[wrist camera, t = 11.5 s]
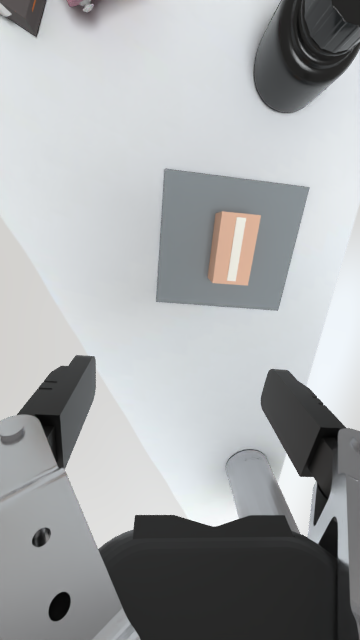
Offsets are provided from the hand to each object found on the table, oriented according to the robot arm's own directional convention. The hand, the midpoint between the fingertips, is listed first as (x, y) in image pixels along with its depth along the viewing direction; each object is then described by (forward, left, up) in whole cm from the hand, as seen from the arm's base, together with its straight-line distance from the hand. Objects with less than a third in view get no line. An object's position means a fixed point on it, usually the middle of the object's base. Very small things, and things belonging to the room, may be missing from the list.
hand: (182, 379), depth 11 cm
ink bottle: (+26, -12, -27) cm, 39 cm away
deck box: (+5, -8, -27) cm, 28 cm away
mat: (+5, -8, -27) cm, 29 cm away
